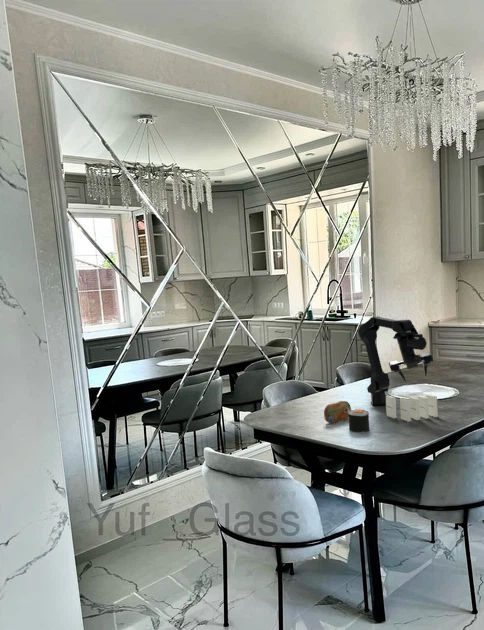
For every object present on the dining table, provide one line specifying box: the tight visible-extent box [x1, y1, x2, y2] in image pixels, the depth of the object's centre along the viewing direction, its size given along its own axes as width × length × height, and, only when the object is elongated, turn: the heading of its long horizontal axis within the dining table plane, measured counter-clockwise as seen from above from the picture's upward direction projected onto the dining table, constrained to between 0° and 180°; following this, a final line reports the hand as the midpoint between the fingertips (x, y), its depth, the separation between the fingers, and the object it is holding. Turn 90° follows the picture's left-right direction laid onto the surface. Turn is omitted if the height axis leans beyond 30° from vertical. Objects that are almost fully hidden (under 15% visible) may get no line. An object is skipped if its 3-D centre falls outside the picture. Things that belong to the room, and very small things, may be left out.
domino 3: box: [408, 396, 421, 421], centre depth 209 cm, size 2×5×9 cm, turn 17°
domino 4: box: [417, 395, 430, 420], centre depth 211 cm, size 2×5×9 cm, turn 17°
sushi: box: [348, 408, 370, 433], centre depth 199 cm, size 8×8×8 cm
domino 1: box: [385, 395, 397, 419], centre depth 214 cm, size 2×5×9 cm, turn 17°
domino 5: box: [425, 393, 438, 418], centre depth 212 cm, size 2×5×9 cm, turn 18°
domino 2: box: [399, 397, 412, 423], centre depth 208 cm, size 2×5×9 cm, turn 17°
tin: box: [323, 400, 352, 425], centre depth 213 cm, size 15×3×8 cm, turn 126°
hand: (415, 378), depth 220 cm, fingers open, 9 cm apart
